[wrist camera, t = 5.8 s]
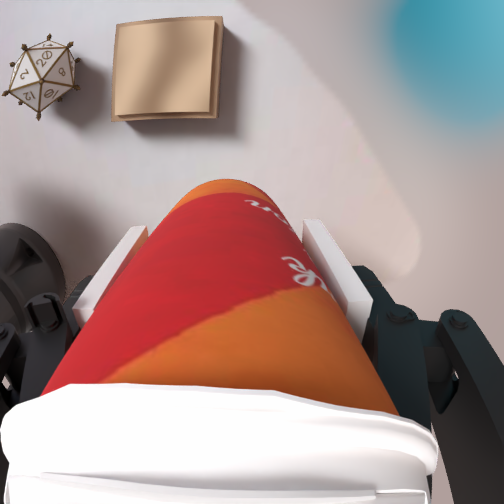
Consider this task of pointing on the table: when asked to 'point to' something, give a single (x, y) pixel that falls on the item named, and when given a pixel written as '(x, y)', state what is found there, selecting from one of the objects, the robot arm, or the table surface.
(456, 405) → the robot arm
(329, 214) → the table surface
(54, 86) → the game die
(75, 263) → the table surface
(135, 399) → the coffee cup
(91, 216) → the table surface
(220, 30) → the plinth
